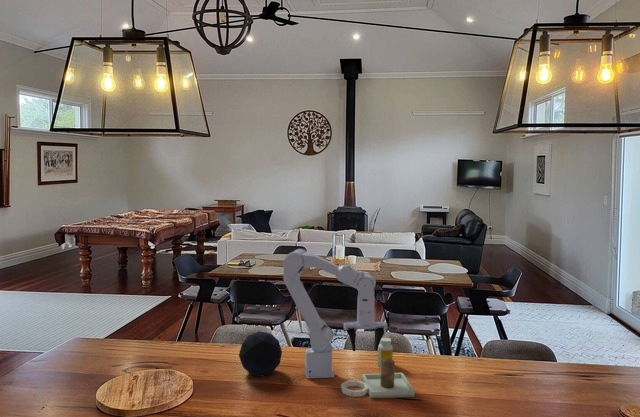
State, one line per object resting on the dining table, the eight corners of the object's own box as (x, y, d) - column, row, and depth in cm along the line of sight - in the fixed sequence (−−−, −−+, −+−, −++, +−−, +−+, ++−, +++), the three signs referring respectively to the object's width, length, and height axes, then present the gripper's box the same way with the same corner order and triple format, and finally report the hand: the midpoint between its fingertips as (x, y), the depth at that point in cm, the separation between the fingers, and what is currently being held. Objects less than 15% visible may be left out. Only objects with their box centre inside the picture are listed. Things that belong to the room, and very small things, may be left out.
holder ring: (343, 396, 155) (343, 392, 154) (339, 385, 163) (339, 380, 163) (370, 395, 156) (370, 391, 155) (364, 384, 164) (364, 380, 164)
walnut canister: (382, 388, 159) (382, 364, 158) (379, 382, 163) (379, 359, 163) (395, 388, 160) (396, 364, 159) (392, 382, 164) (392, 358, 163)
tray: (370, 398, 154) (371, 392, 154) (361, 379, 168) (361, 373, 167) (414, 396, 155) (414, 390, 155) (402, 378, 169) (402, 372, 169)
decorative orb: (235, 349, 179) (238, 324, 169) (276, 346, 183) (281, 321, 173) (239, 386, 169) (242, 361, 159) (282, 381, 173) (288, 357, 163)
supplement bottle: (374, 364, 181) (375, 338, 181) (384, 361, 185) (385, 335, 184) (385, 369, 177) (385, 342, 176) (395, 365, 180) (396, 339, 180)
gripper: (346, 314, 162) (345, 354, 163) (389, 313, 164) (388, 353, 165) (343, 308, 169) (342, 347, 170) (384, 307, 171) (383, 346, 172)
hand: (364, 349), depth 168 cm, fingers open, 7 cm apart
